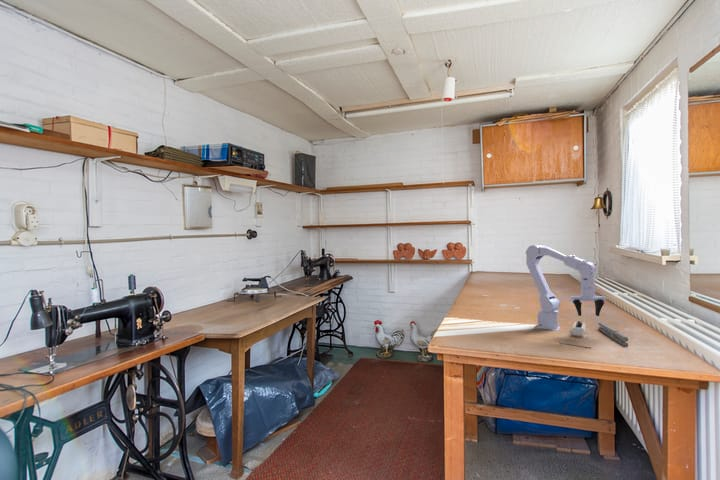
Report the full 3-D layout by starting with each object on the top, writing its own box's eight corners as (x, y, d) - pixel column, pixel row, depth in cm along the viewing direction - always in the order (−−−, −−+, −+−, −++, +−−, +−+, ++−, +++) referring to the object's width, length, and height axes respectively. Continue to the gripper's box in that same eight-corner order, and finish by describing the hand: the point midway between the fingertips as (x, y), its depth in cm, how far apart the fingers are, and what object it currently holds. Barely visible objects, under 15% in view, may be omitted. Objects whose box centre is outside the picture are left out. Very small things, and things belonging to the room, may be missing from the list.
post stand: (567, 337, 172) (567, 325, 172) (571, 329, 185) (571, 318, 185) (587, 340, 168) (587, 328, 168) (589, 331, 181) (589, 320, 181)
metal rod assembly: (597, 331, 182) (597, 321, 182) (603, 331, 182) (603, 321, 182) (622, 347, 157) (622, 336, 157) (629, 348, 157) (629, 336, 157)
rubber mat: (559, 344, 163) (559, 343, 163) (562, 337, 173) (562, 336, 173) (590, 348, 156) (590, 347, 156) (592, 341, 166) (592, 340, 166)
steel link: (572, 335, 173) (572, 327, 173) (574, 329, 183) (574, 321, 183) (583, 337, 170) (583, 328, 170) (585, 330, 180) (585, 322, 180)
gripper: (574, 288, 171) (574, 317, 171) (608, 288, 168) (609, 317, 168) (568, 286, 178) (569, 313, 178) (601, 286, 174) (602, 314, 175)
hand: (588, 315), depth 173 cm, fingers open, 7 cm apart
